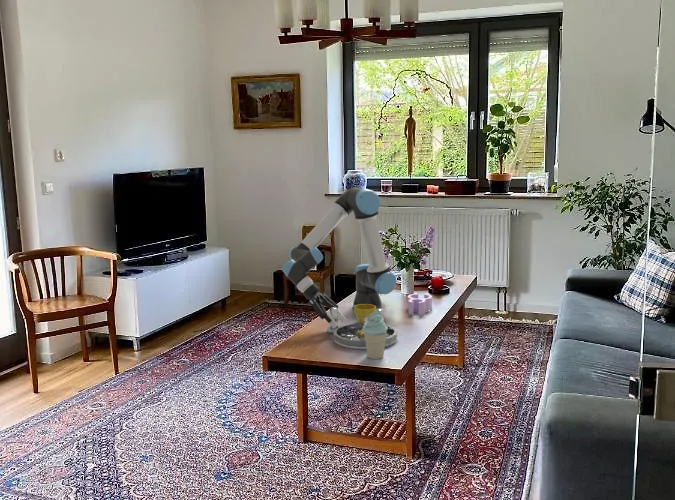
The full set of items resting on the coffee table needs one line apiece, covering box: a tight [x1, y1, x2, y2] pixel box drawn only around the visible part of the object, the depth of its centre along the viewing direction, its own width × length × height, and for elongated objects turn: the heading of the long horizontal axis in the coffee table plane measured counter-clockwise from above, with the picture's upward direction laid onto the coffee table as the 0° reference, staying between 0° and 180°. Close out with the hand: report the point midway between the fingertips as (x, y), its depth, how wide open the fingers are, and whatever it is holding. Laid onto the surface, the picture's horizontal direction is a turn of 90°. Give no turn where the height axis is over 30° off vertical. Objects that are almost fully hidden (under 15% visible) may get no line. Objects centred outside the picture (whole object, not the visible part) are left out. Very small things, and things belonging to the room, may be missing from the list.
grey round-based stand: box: [326, 307, 340, 334], centre depth 310 cm, size 7×7×11 cm
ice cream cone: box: [362, 309, 388, 360], centre depth 273 cm, size 10×11×20 cm
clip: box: [407, 292, 433, 316], centre depth 343 cm, size 20×12×7 cm, turn 164°
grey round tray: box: [333, 308, 398, 351], centre depth 296 cm, size 28×28×12 cm
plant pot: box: [353, 304, 376, 323], centre depth 316 cm, size 10×10×10 cm
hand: (340, 323), depth 309 cm, fingers open, 9 cm apart
